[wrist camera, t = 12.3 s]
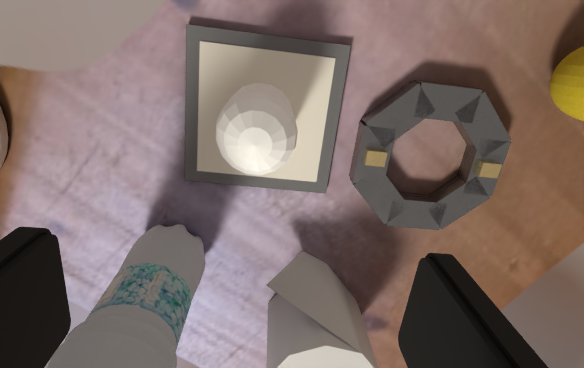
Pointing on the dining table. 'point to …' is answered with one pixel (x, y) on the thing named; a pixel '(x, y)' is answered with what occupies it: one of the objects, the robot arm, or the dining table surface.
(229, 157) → the capsule
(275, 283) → the toilet tissue
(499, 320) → the robot arm
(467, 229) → the dining table surface
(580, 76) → the lemon
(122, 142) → the dining table surface
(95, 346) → the bottle
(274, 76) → the mat
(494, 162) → the socket ring
